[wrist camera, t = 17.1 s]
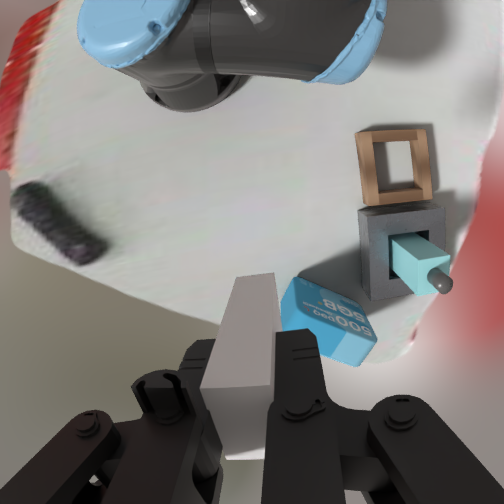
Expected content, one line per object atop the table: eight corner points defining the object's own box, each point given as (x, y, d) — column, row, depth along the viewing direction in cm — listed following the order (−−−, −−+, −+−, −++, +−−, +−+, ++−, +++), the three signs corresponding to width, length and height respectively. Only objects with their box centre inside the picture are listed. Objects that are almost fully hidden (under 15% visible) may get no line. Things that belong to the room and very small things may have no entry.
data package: (360, 302, 47) (381, 343, 36) (346, 325, 48) (362, 370, 37) (292, 273, 46) (297, 310, 35) (279, 298, 48) (280, 340, 36)
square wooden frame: (354, 133, 40) (360, 131, 37) (416, 130, 39) (425, 129, 36) (363, 202, 42) (369, 206, 40) (423, 196, 41) (432, 199, 38)
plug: (385, 234, 43) (429, 269, 28) (411, 230, 42) (462, 263, 28) (386, 263, 44) (427, 307, 29) (411, 258, 43) (459, 300, 29)
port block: (357, 210, 43) (366, 216, 38) (429, 202, 41) (444, 207, 37) (362, 287, 46) (370, 301, 41) (429, 275, 45) (443, 287, 40)
